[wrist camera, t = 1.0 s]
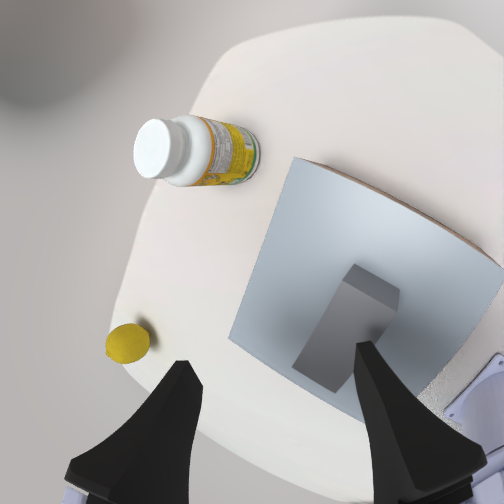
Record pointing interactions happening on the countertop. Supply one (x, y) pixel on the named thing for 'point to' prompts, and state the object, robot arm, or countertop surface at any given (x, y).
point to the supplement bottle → (195, 152)
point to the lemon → (127, 343)
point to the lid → (358, 288)
